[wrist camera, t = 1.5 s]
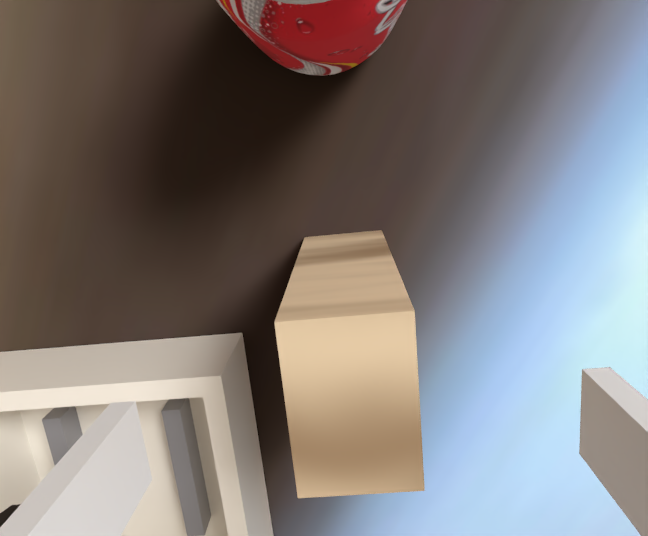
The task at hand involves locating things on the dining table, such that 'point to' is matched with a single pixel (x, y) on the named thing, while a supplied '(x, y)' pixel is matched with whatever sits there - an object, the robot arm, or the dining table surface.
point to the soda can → (316, 30)
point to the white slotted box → (144, 427)
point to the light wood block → (350, 369)
